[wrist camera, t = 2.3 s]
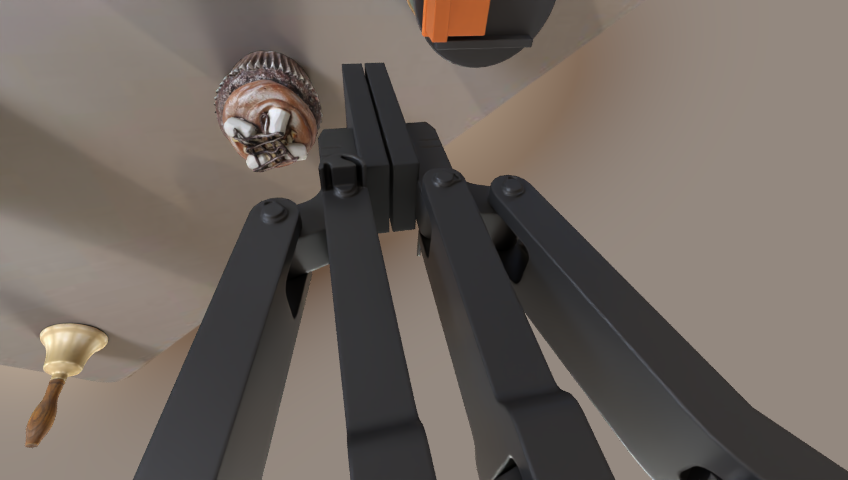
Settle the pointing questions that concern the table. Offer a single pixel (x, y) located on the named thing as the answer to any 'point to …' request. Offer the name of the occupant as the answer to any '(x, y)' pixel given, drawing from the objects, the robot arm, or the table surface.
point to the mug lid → (494, 33)
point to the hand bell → (61, 369)
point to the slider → (454, 18)
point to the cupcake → (268, 110)
